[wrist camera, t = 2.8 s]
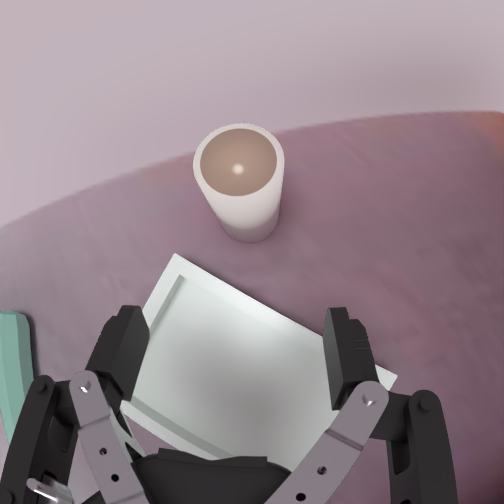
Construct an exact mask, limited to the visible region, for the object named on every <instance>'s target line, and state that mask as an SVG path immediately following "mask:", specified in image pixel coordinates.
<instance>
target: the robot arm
mask: <svg viewBox="0 0 504 504" xmlns="http://www.w3.org/2000/svg"><path fill="white" fill-rule="evenodd" d="M149 338H150V332H149V328H148V325H147V323H146V320H145V317H144V315H143V312H142V310H141V308H140V306H132V305H123V306H122V307H121V309H120V311H119V313H118V315H117V316H112V317H111V318H110V319H109V320H108V321H107V322H106V324H105V325H104V327H103V330H102V332H101V335H100V336H99V338H98V342H97V343H96V345H95V347H94V350H93V352H92V354H91V357H90V359H89V361H88V364H87V366H86V368H85V370H84V371H80V372H78V373H77V374H75V375H74V376H73V377H72V379H71V380H68V381H60V382H54V381H53V379H52V378H51V377H49V376H47V375H41V376H38V377H37V378H35V379H34V380H33V382H32V383H31V385H30V388H29V390H28V393H27V395H26V398H25V401H24V404H23V406H22V409H21V412H20V415H19V418H18V421H17V424H16V427H15V430H14V433H13V436H12V439H11V443H10V446H9V450H8V453H7V457H6V461H5V464H4V468H3V472H2V477H1V481H0V504H73V503H74V500H73V498H72V496H71V492H70V490H69V489H68V488H67V484H68V479H69V474H70V469H71V464H72V460H73V455H74V451H75V447H76V442H77V438H78V436H79V439H80V442H81V445H82V447H83V450H84V453H85V455H86V458H87V461H88V463H89V466H90V468H91V471H92V473H93V476H94V478H95V480H96V482H97V485H98V487H99V489H100V490H99V491H98V492H96V493H95V494H94V495H92V496H91V497H90V498H88V499H87V500H86V501H84V502H83V503H82V504H325V503H326V501H327V500H328V499H329V498H330V496H331V495H332V494H333V492H334V491H335V489H336V488H337V487H338V485H339V484H340V483H341V481H342V480H343V478H344V477H345V475H346V474H347V473H348V471H349V470H350V468H351V467H352V465H353V464H354V462H355V461H356V459H357V458H358V456H359V454H360V453H361V451H362V449H363V446H364V444H365V443H366V441H367V439H368V438H374V439H380V440H386V445H387V455H388V466H389V478H390V494H391V504H458V498H457V489H456V481H455V474H454V467H453V461H452V455H451V449H450V444H449V438H448V433H447V429H446V424H445V420H444V415H443V411H442V407H441V403H440V400H439V398H438V397H437V395H436V394H434V393H433V392H431V391H429V390H419V391H417V392H415V393H414V394H413V395H412V396H409V395H402V394H396V393H393V392H390V391H388V390H387V389H386V388H385V387H384V386H383V385H382V384H381V383H380V381H379V378H378V375H377V371H376V367H375V363H374V359H373V355H372V351H371V349H370V344H369V341H368V336H367V333H366V329H365V327H364V326H363V325H362V324H361V322H360V321H359V320H358V319H350V320H349V316H348V312H347V309H346V307H339V308H328V309H327V314H326V319H325V325H324V330H323V348H324V355H325V362H326V369H327V376H328V384H329V391H330V399H331V407H332V411H335V410H339V413H338V415H337V416H336V418H335V419H334V421H333V422H332V423H331V425H330V426H329V428H328V429H327V430H325V432H324V433H323V434H322V435H321V437H320V438H319V439H318V441H317V442H316V443H315V444H314V446H313V447H312V448H311V450H310V451H309V452H308V454H307V455H306V456H305V457H304V459H303V460H302V461H301V462H300V464H299V465H298V466H297V467H296V468H295V470H294V471H293V472H291V471H290V470H288V469H287V468H285V467H283V466H281V465H279V464H276V463H272V462H268V461H267V456H236V457H231V458H225V459H218V460H207V459H204V458H202V457H199V456H196V455H193V454H190V453H187V452H185V451H178V450H171V449H164V448H159V451H158V453H157V454H151V455H148V456H147V455H146V454H145V452H144V450H143V449H142V448H141V446H140V445H139V443H138V442H137V440H136V438H135V436H134V434H133V432H132V430H131V428H130V426H129V424H128V422H127V420H126V417H125V415H124V413H123V411H122V409H121V407H120V406H121V402H122V400H124V401H129V402H131V399H132V395H133V392H134V388H135V385H136V382H137V378H138V375H139V372H140V368H141V365H142V362H143V359H144V356H145V352H146V349H147V346H148V343H149ZM52 417H53V418H52ZM51 420H52V422H51ZM50 423H51V425H50ZM49 427H50V428H49ZM48 430H49V432H48ZM47 434H48V435H47Z"/></svg>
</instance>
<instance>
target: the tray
mask: <svg viewBox="0 0 504 504" xmlns="http://www.w3.org/2000/svg"><path fill="white" fill-rule="evenodd" d="M142 312H143V315H144V317H145V320H146V323H147V325H148V328H149V332H150V338H149V343H148V346H147V349H146V352H145V356H144V359H143V362H142V365H141V368H140V372H139V375H138V378H137V382H136V385H135V388H134V392H133V395H132V399H131V402H129V401H124V400H122V402H121V406H120V407H121V409H122V411H123V413H124V414H125V415H127V416H128V417H129V418H131V419H132V420H134V421H135V422H136V423H138V424H139V425H141V426H142V427H144V428H145V429H147V430H148V431H150V432H151V433H153V434H154V435H156V436H157V437H159V438H161V439H162V440H164V441H165V442H167V443H169V444H170V445H172V446H174V447H175V448H177V449H179V450H180V451H185V452H187V453H190V454H193V455H196V456H199V457H202V458H204V459H207V460H218V459H225V458H231V457H236V456H267V461H268V462H272V463H276V464H279V465H281V466H283V467H285V468H287V469H288V470H290V471H291V472H293V471H294V470H295V468H296V467H297V466H298V465H299V464H300V462H301V461H302V460H303V459H304V457H305V456H306V455H307V454H308V452H309V451H310V450H311V448H312V447H313V446H314V444H315V443H316V442H317V441H318V439H319V438H320V437H321V435H322V434H323V433H324V432H325V430H327V429H328V428H329V426H330V425H331V423H332V422H333V421H334V419H335V418H336V416H337V415H338V413H339V410H335V411H332V407H331V399H330V391H329V384H328V376H327V369H326V362H325V355H324V348H323V337H322V336H320V335H318V334H316V333H314V332H312V331H311V330H309V329H307V328H305V327H303V326H301V325H300V324H298V323H296V322H294V321H292V320H290V319H289V318H287V317H285V316H283V315H281V314H279V313H278V312H276V311H274V310H272V309H271V308H269V307H267V306H265V305H263V304H262V303H260V302H258V301H256V300H255V299H253V298H251V297H249V296H247V295H246V294H244V293H242V292H240V291H239V290H237V289H235V288H233V287H232V286H230V285H228V284H227V283H225V282H223V281H221V280H220V279H218V278H216V277H215V276H213V275H211V274H209V273H208V272H206V271H204V270H203V269H201V268H199V267H198V266H196V265H194V264H193V263H191V262H189V261H188V260H186V259H184V258H183V257H181V256H179V255H177V254H176V253H174V255H173V257H172V258H171V260H170V262H169V263H168V265H167V267H166V269H165V270H164V272H163V274H162V276H161V277H160V279H159V281H158V283H157V285H156V286H155V288H154V290H153V292H152V294H151V295H150V297H149V299H148V301H147V303H146V305H145V306H144V308H143V310H142ZM375 367H376V371H377V375H378V378H379V381H380V383H381V384H382V385H383V386H384V387H385V388H386V389H387V390H388V391H389V390H390V388H391V387H392V385H393V383H394V381H395V380H396V378H397V375H395V374H393V373H391V372H389V371H387V370H386V369H384V368H382V367H380V366H378V365H376V364H375Z"/></svg>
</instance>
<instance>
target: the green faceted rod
mask: <svg viewBox="0 0 504 504" xmlns="http://www.w3.org/2000/svg"><path fill="white" fill-rule="evenodd" d="M33 380H34V378H33V369H32V359H31V347H30V329H29V323H28V321H27V318H26V316H25V315H23V314H20V313H18V312H15V311H13V310H5V311H1V312H0V409H1V414H2V418H3V423H4V427H5V431H6V435H7V439H8V443H9V446H10V443H11V439H12V436H13V433H14V430H15V427H16V424H17V421H18V418H19V415H20V412H21V409H22V406H23V404H24V401H25V398H26V395H27V393H28V390H29V388H30V385H31V383H32V382H33Z"/></svg>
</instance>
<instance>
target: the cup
mask: <svg viewBox="0 0 504 504" xmlns="http://www.w3.org/2000/svg"><path fill="white" fill-rule="evenodd" d="M193 170H194V175H195V178H196V180H197V182H198V184H199V186H200V188H201V190H202V191H203V193H204V195H205V197H206V199H207V200H208V202H209V204H210V206H211V207H212V209H213V211H214V213H215V215H216V216H217V218H218V220H219V222H220V223H221V225H222V227H223V229H224V230H225V232H226V233H227V234H228V235H229V236H230V237H232V238H233V239H235V240H237V241H240V242H244V243H254V242H258V241H261V240H263V239H265V238H266V237H268V236H269V235H270V234H271V233H272V232H273V230H274V229H275V227H276V225H277V222H278V218H279V209H280V200H281V191H282V181H283V172H284V154H283V150H282V148H281V146H280V144H279V142H278V141H277V139H276V138H275V137H274V136H273V135H272V134H271V133H270V132H268V131H267V130H265V129H263V128H261V127H259V126H256V125H252V124H245V123H238V124H230V125H226V126H223V127H221V128H219V129H217V130H215V131H213V132H212V133H210V134H209V135H208V136H207V137H206V138H205V139H204V140H203V141H202V142H201V143H200V145H199V147H198V148H197V151H196V153H195V156H194V161H193Z"/></svg>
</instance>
